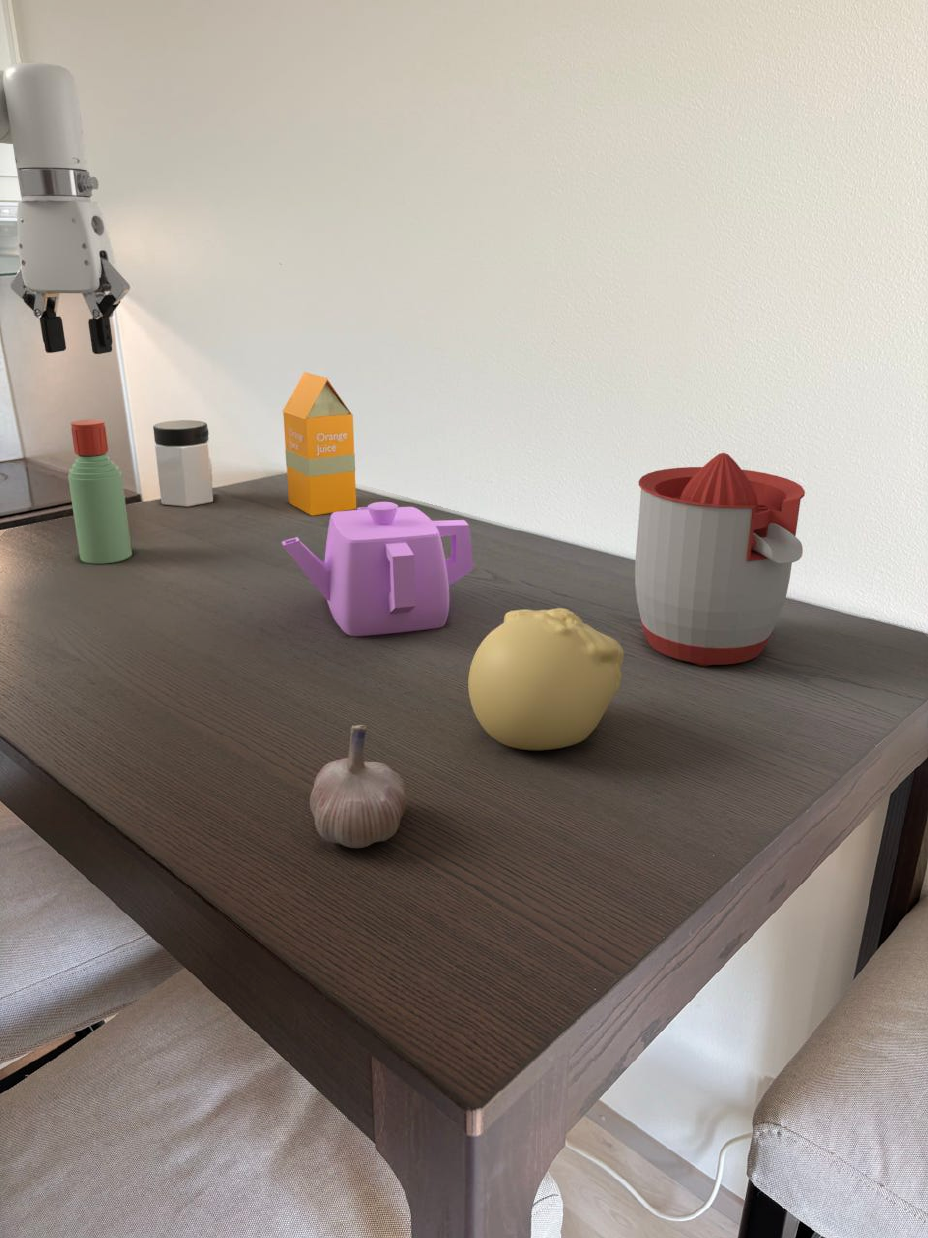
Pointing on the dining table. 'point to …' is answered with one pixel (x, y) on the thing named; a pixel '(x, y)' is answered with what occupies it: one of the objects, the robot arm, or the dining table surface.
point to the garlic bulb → (357, 798)
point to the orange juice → (319, 448)
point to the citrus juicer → (714, 559)
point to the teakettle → (386, 568)
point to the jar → (183, 462)
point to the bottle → (99, 510)
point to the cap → (89, 437)
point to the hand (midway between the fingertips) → (79, 350)
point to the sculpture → (543, 679)
